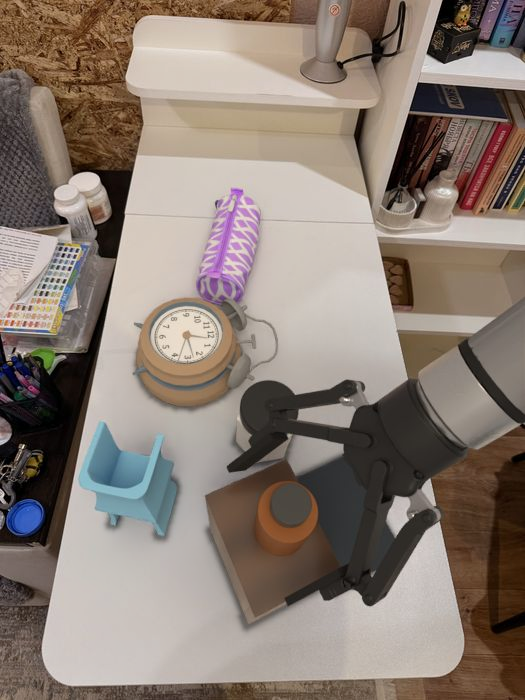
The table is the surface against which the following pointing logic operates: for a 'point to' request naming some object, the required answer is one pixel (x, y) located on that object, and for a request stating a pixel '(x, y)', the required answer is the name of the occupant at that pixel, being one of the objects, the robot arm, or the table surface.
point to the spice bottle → (285, 518)
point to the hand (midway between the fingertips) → (263, 529)
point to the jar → (261, 414)
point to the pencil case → (229, 248)
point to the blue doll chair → (129, 480)
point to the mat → (341, 509)
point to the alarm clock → (194, 351)
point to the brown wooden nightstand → (250, 558)
